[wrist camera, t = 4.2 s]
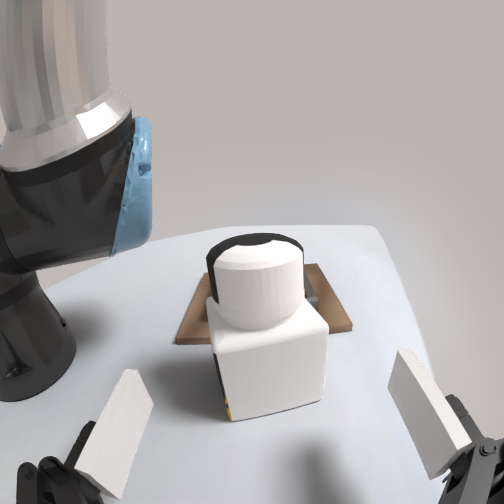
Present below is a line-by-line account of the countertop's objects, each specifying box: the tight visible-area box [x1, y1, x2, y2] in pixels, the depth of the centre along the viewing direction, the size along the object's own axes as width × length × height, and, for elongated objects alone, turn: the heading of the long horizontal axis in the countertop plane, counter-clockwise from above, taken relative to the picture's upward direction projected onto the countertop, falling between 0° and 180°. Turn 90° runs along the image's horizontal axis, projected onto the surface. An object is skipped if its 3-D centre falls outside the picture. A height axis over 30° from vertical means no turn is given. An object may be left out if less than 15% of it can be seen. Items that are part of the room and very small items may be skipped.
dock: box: [176, 263, 353, 344], centre depth 34 cm, size 18×18×2 cm
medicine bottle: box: [206, 233, 329, 421], centre depth 19 cm, size 7×7×12 cm
